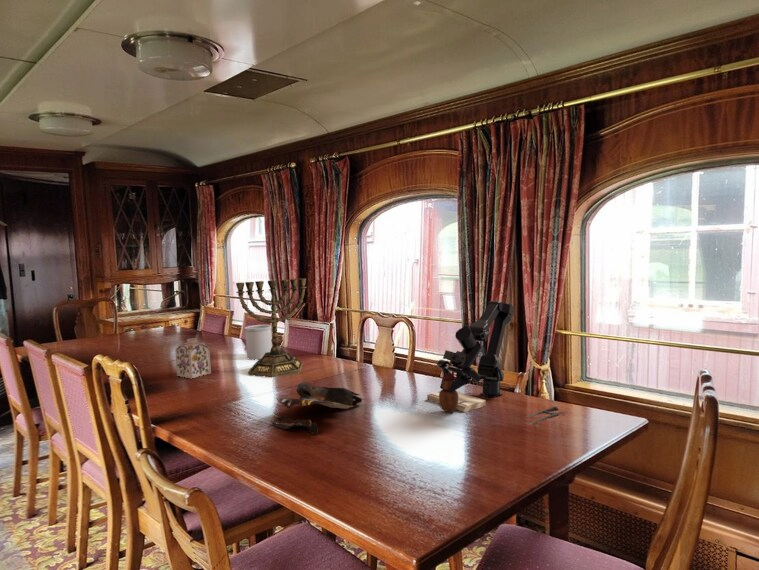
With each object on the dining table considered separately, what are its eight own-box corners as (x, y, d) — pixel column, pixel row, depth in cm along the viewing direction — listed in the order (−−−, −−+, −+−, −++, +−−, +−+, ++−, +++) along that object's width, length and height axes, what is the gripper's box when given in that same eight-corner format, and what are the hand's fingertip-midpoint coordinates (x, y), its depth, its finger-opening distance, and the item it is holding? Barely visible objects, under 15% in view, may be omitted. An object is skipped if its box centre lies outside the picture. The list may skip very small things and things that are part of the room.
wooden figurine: (459, 408, 184) (459, 367, 183) (456, 413, 178) (456, 371, 177) (441, 406, 186) (440, 366, 185) (437, 412, 181) (437, 370, 179)
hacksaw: (554, 409, 183) (554, 405, 183) (579, 417, 174) (579, 412, 174) (506, 422, 170) (506, 418, 170) (530, 432, 162) (530, 427, 161)
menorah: (298, 360, 274) (295, 277, 271) (320, 368, 254) (316, 279, 250) (232, 371, 254) (227, 281, 251) (250, 381, 233) (245, 284, 230)
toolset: (316, 392, 208) (364, 356, 200) (340, 435, 202) (390, 399, 194) (252, 406, 172) (308, 363, 164) (279, 459, 166) (338, 417, 158)
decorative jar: (211, 373, 250) (209, 337, 249) (191, 379, 241) (189, 341, 239) (196, 371, 257) (194, 336, 256) (175, 376, 247) (173, 340, 246)
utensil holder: (241, 360, 280) (239, 328, 279) (252, 354, 295) (251, 324, 294) (266, 360, 278) (265, 328, 277) (276, 354, 293) (275, 324, 291)
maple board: (448, 394, 204) (448, 388, 204) (485, 405, 188) (485, 400, 187) (427, 399, 197) (427, 394, 197) (464, 412, 181) (464, 406, 181)
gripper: (439, 338, 190) (416, 371, 186) (473, 345, 174) (448, 382, 170) (456, 355, 195) (434, 389, 190) (490, 364, 179) (467, 401, 174)
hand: (445, 390), depth 181 cm, fingers closed on wooden figurine, 5 cm apart
